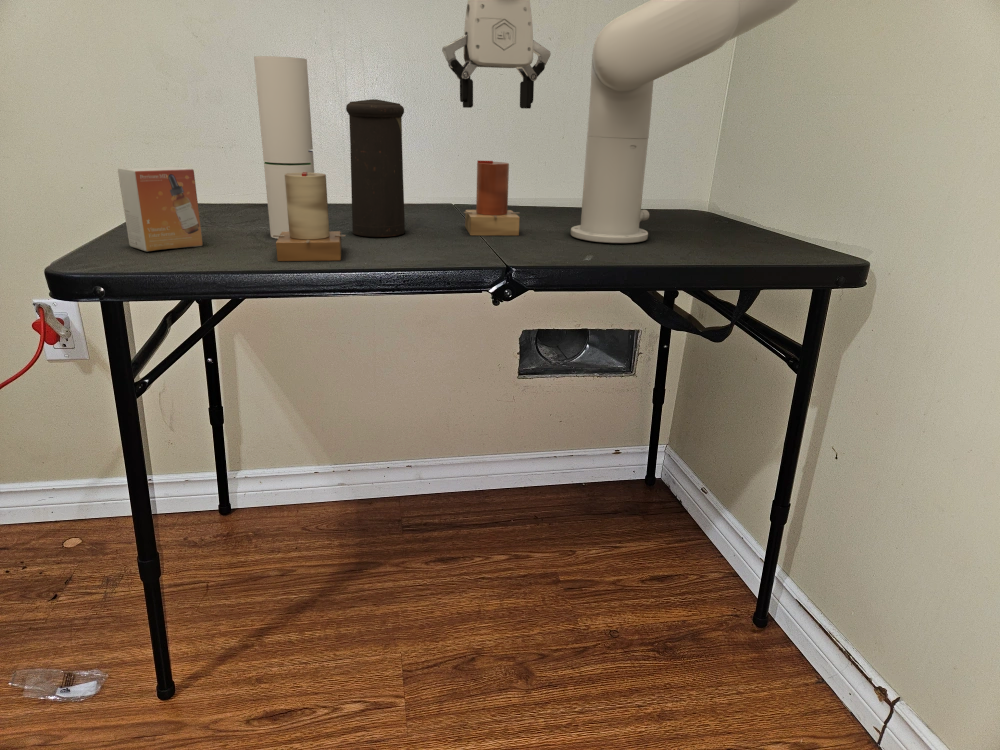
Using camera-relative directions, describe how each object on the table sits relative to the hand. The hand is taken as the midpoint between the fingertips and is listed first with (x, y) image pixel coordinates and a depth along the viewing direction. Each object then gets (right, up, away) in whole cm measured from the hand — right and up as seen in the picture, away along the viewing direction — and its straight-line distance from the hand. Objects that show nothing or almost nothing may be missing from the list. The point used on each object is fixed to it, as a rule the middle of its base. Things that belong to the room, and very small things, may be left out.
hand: (496, 107), depth 107 cm
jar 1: (-25, -23, -16) cm, 38 cm away
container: (-19, -20, +2) cm, 27 cm away
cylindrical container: (-31, -21, -2) cm, 38 cm away
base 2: (-1, -18, +7) cm, 19 cm away
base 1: (-25, -26, -15) cm, 39 cm away
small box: (-46, -24, -12) cm, 53 cm away
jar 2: (-1, -15, +6) cm, 16 cm away
